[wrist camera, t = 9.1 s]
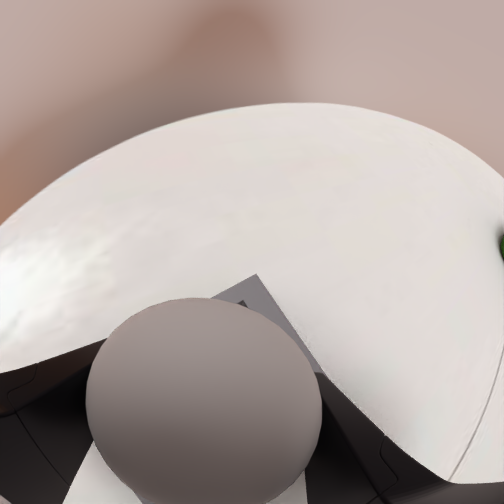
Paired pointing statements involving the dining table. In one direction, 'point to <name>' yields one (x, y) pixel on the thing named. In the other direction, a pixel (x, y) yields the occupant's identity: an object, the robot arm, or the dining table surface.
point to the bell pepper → (502, 246)
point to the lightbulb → (203, 404)
